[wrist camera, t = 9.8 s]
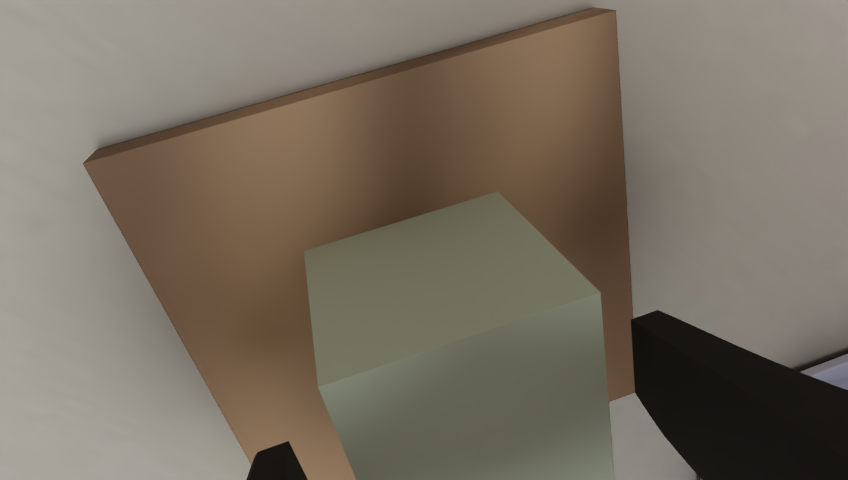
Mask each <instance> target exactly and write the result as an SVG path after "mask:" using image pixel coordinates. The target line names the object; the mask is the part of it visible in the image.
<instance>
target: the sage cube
mask: <svg viewBox="0 0 848 480" xmlns="http://www.w3.org/2000/svg"><path fill="white" fill-rule="evenodd" d="M304 257H305V267H306V276H307V286H308V296H309V305H310V315H311V324H312V334H313V344H314V353H315V363H316V372H317V382H318V388H319V391H320V393H321V396H322V398H323V401H324V403H325V405H326V408H327V410H328V413H329V415H330V417H331V420H332V422H333V425H334V427H335V430H336V432H337V434H338V437H339V439H340V442H341V444H342V446H343V449H344V451H345V454H346V456H347V459H348V461H349V463H350V466H351V468H352V471H353V473H354V475H355V478H356V480H615V476H614V463H613V450H612V437H611V424H610V411H609V398H608V384H607V371H606V358H605V345H604V332H603V319H602V306H601V292H600V291H599V290H598V289H597V288H596V287H595V286H593V285H592V284H591V283H590V282H589V281H588V280H587V279H586V278H585V277H584V276H583V275H582V274H581V273H580V272H579V271H578V270H577V269H576V268H575V267H574V266H573V265H572V264H571V263H570V262H569V261H568V260H567V259H566V258H565V257H564V256H563V255H562V254H561V253H560V252H559V251H558V250H557V249H556V248H555V247H554V246H553V245H552V244H551V243H550V242H549V241H548V240H547V239H546V238H545V237H544V236H543V235H542V234H541V233H540V232H539V231H538V230H537V229H536V228H535V227H534V226H533V225H532V224H531V223H530V222H529V221H528V220H527V219H526V218H524V217H523V216H522V215H521V214H520V213H519V212H518V211H517V210H516V209H515V208H514V207H513V206H512V205H511V204H510V203H509V202H508V201H507V200H506V199H505V198H504V197H503V196H502V195H501V194H500V193H499V192H498V191H497V192H494V193H491V194H488V195H484V196H481V197H478V198H475V199H471V200H468V201H465V202H462V203H458V204H455V205H452V206H449V207H445V208H442V209H439V210H436V211H432V212H429V213H426V214H423V215H419V216H416V217H413V218H410V219H406V220H403V221H400V222H396V223H393V224H390V225H387V226H383V227H380V228H377V229H374V230H370V231H367V232H364V233H361V234H357V235H354V236H351V237H348V238H344V239H341V240H338V241H335V242H331V243H328V244H325V245H322V246H318V247H315V248H312V249H309V250H305V251H304Z"/></svg>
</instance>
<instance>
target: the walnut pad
mask: <svg viewBox="0 0 848 480" xmlns="http://www.w3.org/2000/svg"><path fill="white" fill-rule="evenodd" d="M83 165H84V167H85V168H86V170H87V172H88V174H89V176H90V177H91V179H92V181H93V183H94V184H95V186H96V188H97V190H98V192H99V193H100V195H101V197H102V199H103V201H104V202H105V204H106V206H107V208H108V210H109V211H110V213H111V215H112V217H113V218H114V220H115V222H116V224H117V226H118V227H119V229H120V231H121V233H122V235H123V236H124V238H125V240H126V242H127V243H128V245H129V247H130V249H131V251H132V252H133V254H134V256H135V258H136V260H137V261H138V263H139V265H140V267H141V268H142V270H143V272H144V274H145V276H146V277H147V279H148V281H149V283H150V285H151V286H152V288H153V290H154V292H155V294H156V295H157V297H158V299H159V301H160V302H161V304H162V306H163V308H164V310H165V311H166V313H167V315H168V317H169V319H170V320H171V322H172V324H173V326H174V327H175V329H176V331H177V333H178V335H179V336H180V338H181V340H182V342H183V344H184V345H185V347H186V349H187V351H188V353H189V354H190V356H191V358H192V360H193V361H194V363H195V365H196V367H197V369H198V370H199V372H200V374H201V376H202V378H203V379H204V381H205V383H206V385H207V386H208V388H209V390H210V392H211V394H212V395H213V397H214V399H215V401H216V403H217V404H218V406H219V408H220V410H221V411H222V413H223V415H224V417H225V419H226V420H227V422H228V424H229V426H230V428H231V429H232V431H233V433H234V435H235V437H236V438H237V440H238V442H239V444H240V445H241V447H242V449H243V451H244V453H245V454H246V456H247V458H248V460H249V462H250V463H251V465H252V462H253V459H254V457H255V455H256V454H257V452H259V451H262V450H264V449H267V448H270V447H273V446H276V445H279V444H281V443H284V442H287V441H289V443H290V445H291V447H292V449H293V451H294V453H295V455H296V457H297V459H298V461H299V463H300V465H301V467H302V469H303V471H304V473H305V475H306V477H307V479H308V480H356V478H355V475H354V473H353V471H352V468H351V466H350V463H349V461H348V459H347V456H346V454H345V451H344V449H343V446H342V444H341V442H340V439H339V437H338V434H337V432H336V430H335V427H334V425H333V422H332V420H331V417H330V415H329V413H328V410H327V408H326V405H325V403H324V401H323V398H322V396H321V393H320V391H319V388H318V382H317V372H316V363H315V353H314V344H313V334H312V324H311V315H310V305H309V296H308V286H307V276H306V267H305V257H304V251H305V250H309V249H312V248H315V247H318V246H322V245H325V244H328V243H331V242H335V241H338V240H341V239H344V238H348V237H351V236H354V235H357V234H361V233H364V232H367V231H370V230H374V229H377V228H380V227H383V226H387V225H390V224H393V223H396V222H400V221H403V220H406V219H410V218H413V217H416V216H419V215H423V214H426V213H429V212H432V211H436V210H439V209H442V208H445V207H449V206H452V205H455V204H458V203H462V202H465V201H468V200H471V199H475V198H478V197H481V196H484V195H488V194H491V193H494V192H497V191H498V192H499V193H500V194H501V195H502V196H503V197H504V198H505V199H506V200H507V201H508V202H509V203H510V204H511V205H512V206H513V207H514V208H515V209H516V210H517V211H518V212H519V213H520V214H521V215H522V216H523V217H524V218H526V219H527V220H528V221H529V222H530V223H531V224H532V225H533V226H534V227H535V228H536V229H537V230H538V231H539V232H540V233H541V234H542V235H543V236H544V237H545V238H546V239H547V240H548V241H549V242H550V243H551V244H552V245H553V246H554V247H555V248H556V249H557V250H558V251H559V252H560V253H561V254H562V255H563V256H564V257H565V258H566V259H567V260H568V261H569V262H570V263H571V264H572V265H573V266H574V267H575V268H576V269H577V270H578V271H579V272H580V273H581V274H582V275H583V276H584V277H585V278H586V279H587V280H588V281H589V282H590V283H591V284H592V285H593V286H595V287H596V288H597V289H598V290H599V291H600V292H601V306H602V319H603V332H604V345H605V358H606V371H607V384H608V398H609V402H610V401H613V400H615V399H618V398H621V397H623V396H626V395H629V394H632V393H634V392H635V384H634V367H633V350H632V333H631V319H633V307H632V290H631V272H630V254H629V236H628V218H627V200H626V182H625V164H624V146H623V128H622V110H621V92H620V74H619V56H618V38H617V20H616V10H609V9H601V8H591V9H588V10H584V11H581V12H577V13H574V14H570V15H567V16H563V17H560V18H556V19H553V20H549V21H546V22H542V23H539V24H535V25H532V26H528V27H525V28H521V29H518V30H514V31H511V32H507V33H504V34H500V35H497V36H493V37H490V38H486V39H483V40H479V41H476V42H472V43H469V44H465V45H462V46H458V47H455V48H451V49H448V50H444V51H441V52H437V53H434V54H430V55H427V56H423V57H420V58H416V59H413V60H409V61H406V62H402V63H399V64H395V65H392V66H388V67H385V68H381V69H378V70H374V71H371V72H367V73H364V74H360V75H357V76H353V77H350V78H346V79H343V80H339V81H336V82H332V83H329V84H325V85H322V86H318V87H315V88H311V89H308V90H304V91H301V92H297V93H294V94H290V95H287V96H283V97H280V98H276V99H273V100H269V101H266V102H262V103H259V104H255V105H252V106H248V107H245V108H241V109H238V110H234V111H231V112H227V113H224V114H220V115H217V116H213V117H210V118H206V119H203V120H199V121H196V122H192V123H189V124H185V125H182V126H178V127H175V128H171V129H168V130H164V131H161V132H157V133H154V134H150V135H147V136H143V137H140V138H136V139H133V140H129V141H126V142H122V143H119V144H115V145H112V146H108V147H105V148H101V149H98V150H96V151H95V152H94V153H93V154H92V155H91V156H90V157H89V158H88V159H87V160H86V161H85V162H84V163H83Z"/></svg>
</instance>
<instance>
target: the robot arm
mask: <svg viewBox="0 0 848 480" xmlns="http://www.w3.org/2000/svg"><path fill="white" fill-rule="evenodd" d="M631 333H632V350H633V367H634V384H635V393H636V395H637V396H638V398H639V399H640V401H641V402H642V404H643V405H644V407H645V408H646V410H647V411H648V413H649V415H650V416H651V417H652V419H653V420H654V422H655V423H656V425H657V426H658V428H659V429H660V430H661V432H662V433H663V435H664V436H665V437H666V438H667V440H668V441H669V442H670V443H671V444H672V445H673V447H674V448H675V449H676V450H677V451H678V452H679V454H680V455H681V456H682V457H683V458H684V459H685V461H686V462H687V463H688V464H689V465H690V466H691V468H692V469H693V470H694V471H695V472H696V473H697V475H698V476H699V477H700V480H848V354H845V355H843V356H840V357H838V358H835V359H832V360H830V361H827V362H824V363H822V364H819V365H816V366H814V367H811V368H809V369H806V370H803V371H801V372H798V371H795V370H793V369H790V368H788V367H786V366H783V365H781V364H778V363H776V362H773V361H771V360H769V359H766V358H764V357H761V356H759V355H757V354H754V353H752V352H750V351H748V350H745V349H743V348H741V347H738V346H736V345H734V344H732V343H729V342H727V341H725V340H723V339H721V338H718V337H716V336H714V335H712V334H710V333H707V332H705V331H703V330H701V329H699V328H697V327H694V326H692V325H690V324H688V323H686V322H683V321H681V320H679V319H677V318H675V317H672V316H670V315H668V314H665V313H663V312H661V311H658V310H657V311H654V312H651V313H648V314H646V315H643V316H640V317H637V318H634V319H631ZM247 480H308V479H307V477H306V475H305V473H304V471H303V469H302V467H301V465H300V463H299V461H298V459H297V457H296V455H295V453H294V451H293V449H292V447H291V445H290V443H289V441H287V442H284V443H281V444H279V445H276V446H273V447H270V448H267V449H264V450H262V451H259V452H257V454H256V455H255V457H254V459H253V462H252V465H251V468H250V471H249V474H248V477H247Z"/></svg>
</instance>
